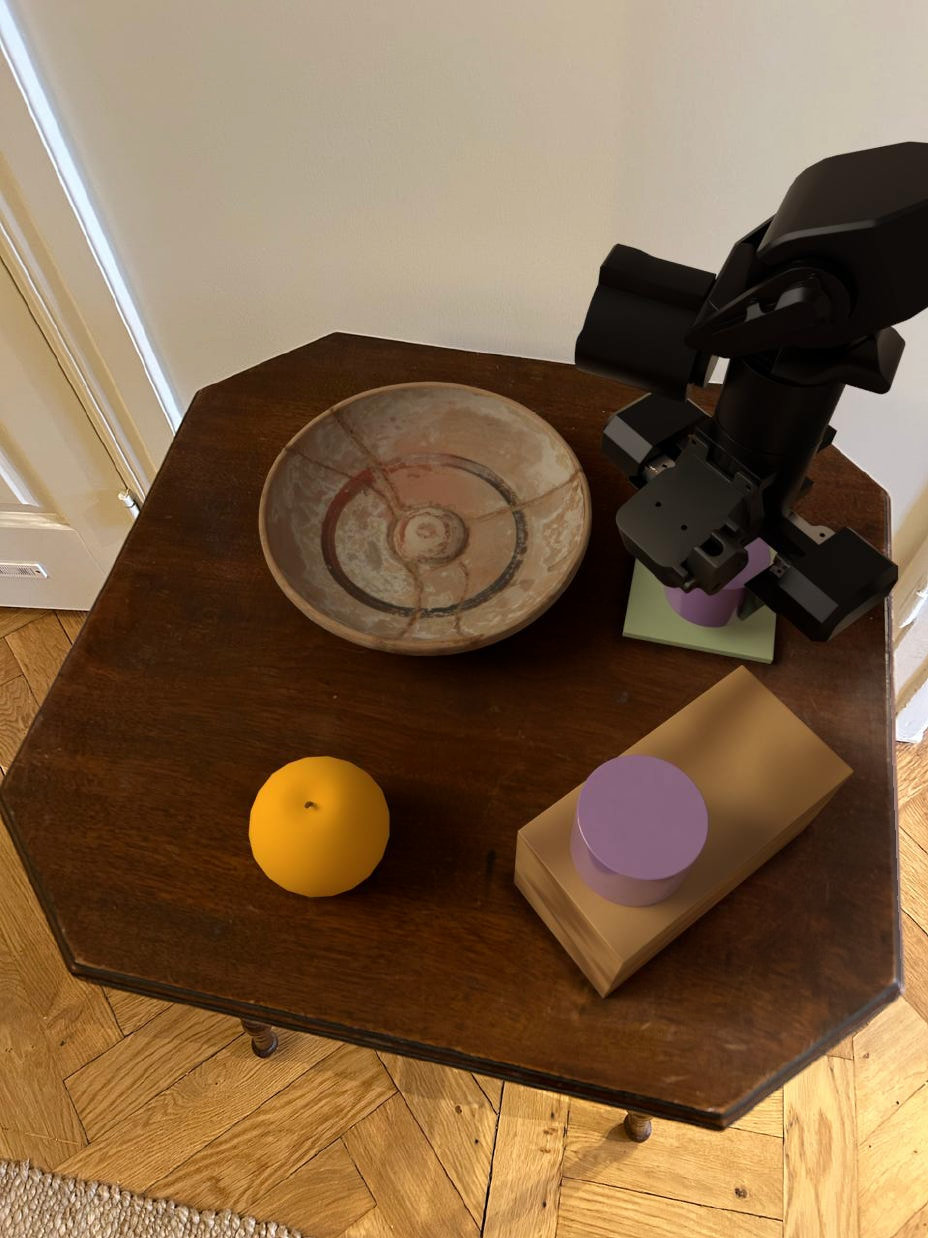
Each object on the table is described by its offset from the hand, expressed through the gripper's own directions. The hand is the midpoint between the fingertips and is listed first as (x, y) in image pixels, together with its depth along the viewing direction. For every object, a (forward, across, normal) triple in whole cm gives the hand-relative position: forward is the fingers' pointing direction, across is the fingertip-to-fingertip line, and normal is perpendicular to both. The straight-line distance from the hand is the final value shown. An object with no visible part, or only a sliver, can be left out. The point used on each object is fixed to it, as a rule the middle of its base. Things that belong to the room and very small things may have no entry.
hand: (710, 584), depth 61 cm
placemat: (+3, -2, +3) cm, 5 cm away
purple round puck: (+1, 0, 0) cm, 1 cm away
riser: (+3, +11, -14) cm, 18 cm away
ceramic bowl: (+3, -16, -12) cm, 20 cm away
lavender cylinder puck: (-6, +11, -18) cm, 22 cm away
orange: (+3, -1, -30) cm, 30 cm away
